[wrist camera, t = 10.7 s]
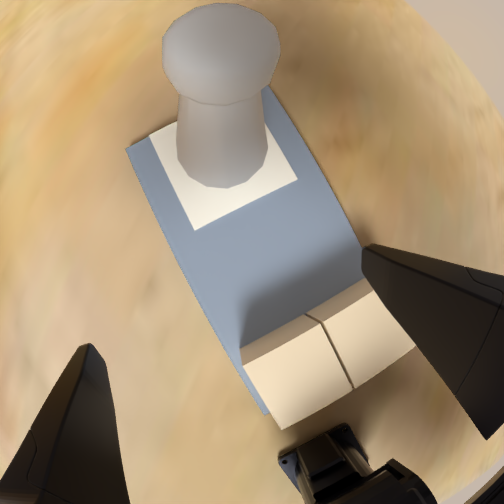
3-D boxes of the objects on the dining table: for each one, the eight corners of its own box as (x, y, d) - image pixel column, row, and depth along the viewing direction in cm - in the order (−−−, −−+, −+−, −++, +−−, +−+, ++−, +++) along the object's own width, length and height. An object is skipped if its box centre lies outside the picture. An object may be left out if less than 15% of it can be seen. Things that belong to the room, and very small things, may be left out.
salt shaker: (222, 107, 21) (225, -32, 8) (279, 156, 21) (340, 35, 9) (164, 159, 21) (104, 40, 8) (222, 214, 21) (217, 129, 8)
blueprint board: (393, 331, 23) (428, 343, 18) (262, 409, 21) (272, 442, 17) (266, 91, 23) (275, 55, 18) (129, 153, 22) (107, 126, 17)
